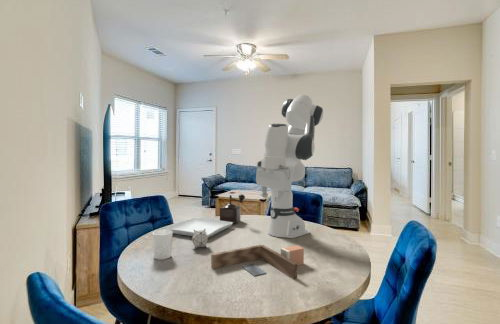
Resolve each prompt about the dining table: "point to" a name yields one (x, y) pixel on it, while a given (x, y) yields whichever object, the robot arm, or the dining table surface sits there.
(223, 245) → the dining table surface
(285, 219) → the robot arm
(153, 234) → the white cup
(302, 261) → the block
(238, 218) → the dark brown coffee grinder
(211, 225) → the square plate
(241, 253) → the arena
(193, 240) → the game die
